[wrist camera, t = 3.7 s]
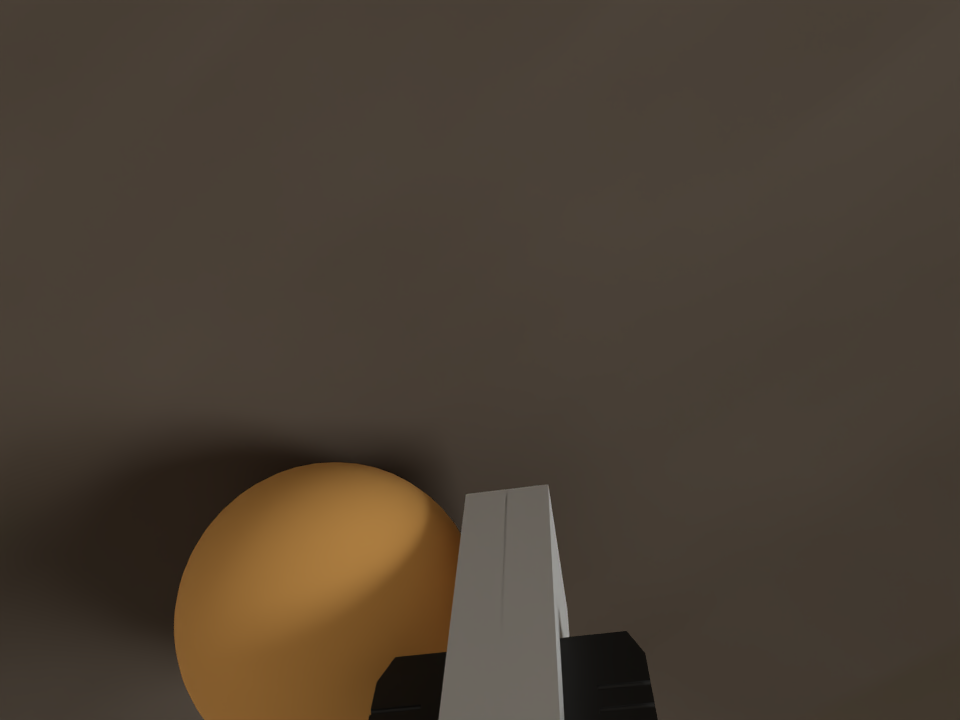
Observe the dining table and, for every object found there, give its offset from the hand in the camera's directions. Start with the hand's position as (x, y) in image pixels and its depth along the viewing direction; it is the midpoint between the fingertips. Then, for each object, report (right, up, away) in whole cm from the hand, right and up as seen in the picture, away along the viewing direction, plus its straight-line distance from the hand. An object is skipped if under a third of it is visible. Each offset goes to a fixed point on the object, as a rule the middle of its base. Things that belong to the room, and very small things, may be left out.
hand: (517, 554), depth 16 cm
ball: (-3, -1, 0) cm, 4 cm away
